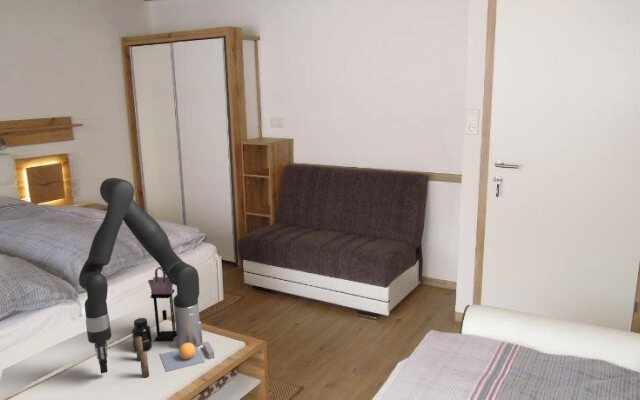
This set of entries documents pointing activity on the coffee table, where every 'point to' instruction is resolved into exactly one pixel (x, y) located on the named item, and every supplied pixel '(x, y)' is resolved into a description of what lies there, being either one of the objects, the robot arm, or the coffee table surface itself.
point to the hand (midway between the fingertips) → (104, 371)
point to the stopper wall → (208, 350)
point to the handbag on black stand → (159, 289)
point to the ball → (187, 351)
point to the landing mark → (179, 360)
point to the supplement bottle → (142, 333)
